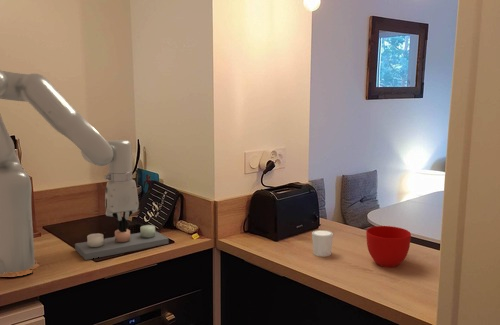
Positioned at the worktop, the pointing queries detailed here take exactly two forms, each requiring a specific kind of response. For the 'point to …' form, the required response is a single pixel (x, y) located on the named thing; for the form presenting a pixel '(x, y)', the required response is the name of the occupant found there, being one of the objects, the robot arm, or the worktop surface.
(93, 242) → the cream button
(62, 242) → the worktop surface
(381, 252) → the ceramic cup
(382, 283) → the worktop surface
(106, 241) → the button board
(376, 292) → the worktop surface
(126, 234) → the terracotta button
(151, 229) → the sage button
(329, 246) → the white tapered tub
